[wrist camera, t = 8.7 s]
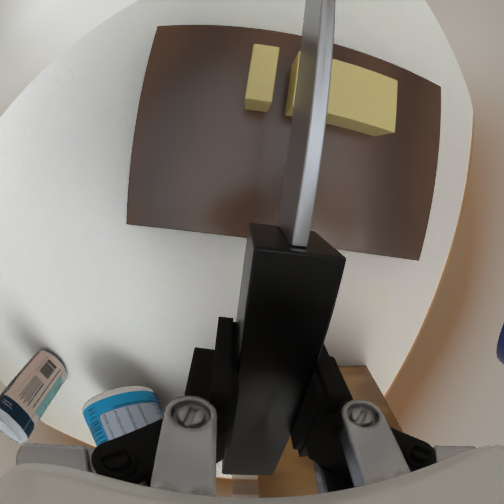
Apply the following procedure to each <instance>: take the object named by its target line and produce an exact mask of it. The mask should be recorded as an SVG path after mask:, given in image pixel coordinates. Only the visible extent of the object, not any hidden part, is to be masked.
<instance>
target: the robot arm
mask: <svg viewBox="0 0 504 504" xmlns="http://www.w3.org/2000/svg"><path fill="white" fill-rule="evenodd" d="M238 396H239V371H237V322H233V318H226V317H219V320H218V328H217V336H216V345H215V350H212V349H204V348H196V347H195V349H194V353H193V358H192V363H191V367H190V372H189V377H188V382H187V386H186V391H185V396H181V397H177V398H175V399H173V400H172V401H171V402H170V403H169V404H168V405H167V407H166V409H165V413H164V418H162V419H160V420H158V421H155V422H153V423H151V424H149V425H146V426H144V427H142V428H139V429H137V430H134V431H132V432H130V433H127V434H125V435H122V436H120V437H117V438H114V439H112V440H109V441H106V442H104V443H102V444H100V445H98V446H97V447H96V448H95V449H87V448H86V446H68V445H50V444H39V443H27V444H25V445H23V446H21V447H20V449H19V450H18V452H17V455H16V466H14V467H12V468H11V469H9V470H8V471H7V472H6V473H5V474H4V475H3V476H2V477H1V478H0V504H504V446H502V445H494V446H484V447H479V448H475V447H471V446H435V447H434V448H433V447H431V446H430V445H429V444H428V443H426V442H424V441H422V440H419V439H417V438H414V437H412V436H410V435H407V434H405V433H403V432H400V431H398V430H396V429H394V428H391V427H389V425H388V423H387V421H386V419H385V417H384V415H383V413H382V411H381V410H380V408H379V407H378V406H377V405H375V404H374V403H372V402H370V401H366V400H361V399H356V400H353V397H352V395H351V393H350V391H349V389H348V386H347V384H346V382H345V380H344V378H343V376H342V374H341V371H340V369H339V367H338V365H337V363H336V361H335V359H334V358H333V357H332V356H329V354H328V352H327V350H326V348H325V345H324V344H323V347H322V350H321V353H320V356H319V359H318V362H317V365H316V368H315V371H314V374H313V375H312V377H311V380H310V383H309V386H308V389H307V392H306V394H305V397H304V400H303V402H302V405H301V408H300V410H299V413H298V416H297V418H296V421H295V423H294V426H293V428H292V431H291V433H290V435H291V441H292V446H293V449H294V450H297V449H298V453H299V457H307V456H308V458H309V459H311V460H313V469H314V474H315V479H316V484H317V489H318V494H312V495H303V496H292V497H275V498H232V497H231V498H230V497H216V463H218V462H219V461H221V460H222V459H224V455H225V449H230V446H231V440H232V434H233V428H234V422H235V416H236V410H237V403H238Z"/></svg>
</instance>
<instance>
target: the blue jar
mask: <svg viewBox="0 0 504 504" xmlns="http://www.w3.org/2000/svg"><path fill="white" fill-rule="evenodd" d="M83 415H84V418H85V420H86V423H87V424H88V427H89V429H90V431H91V433H92V436H93V438H94V440H95V443H96V445H97V446H98V445H100V444H102V443H104V442H106V441H109V440H112V439H114V438H117V437H120V436H122V435H125V434H127V433H130V432H132V431H134V430H137V429H139V428H142V427H144V426H146V425H149V424H151V423H153V422H155V421H158V420H160V419H162V418H164V412H163V410H162V408H161V406H160V403H159V401H158V399H157V396H156V394H155V393H154V391H153V390H151V389H150V388H148V387H144V386H128V387H121V388H116V389H112V390H109V391H106V392H103V393H100V394H98V395H96V396H94V397H92V398H91V399H89V400H88V401H87V402H86V403H85V404H84V406H83Z"/></svg>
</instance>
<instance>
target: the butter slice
mask: <svg viewBox="0 0 504 504" xmlns="http://www.w3.org/2000/svg"><path fill="white" fill-rule="evenodd" d="M278 56H279V47H275V46H268V45H261V44H254V45H253V51H252V57H251V63H250V69H249V75H248V82H247V88H246V94H245V109H246V110H254V111H262V112H268V109H269V107H270V105H271V103H272V98H273V91H274V84H275V77H276V70H277V63H278Z"/></svg>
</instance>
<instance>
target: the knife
mask: <svg viewBox="0 0 504 504" xmlns="http://www.w3.org/2000/svg"><path fill="white" fill-rule="evenodd" d="M334 25H335V0H306V2H305V13H304V22H303V32H302V41H301V50H300V59H299V67H298V76H297V84H296V92H295V100H294V108H293V116H292V124H291V131H290V139H289V146H288V153H287V161H286V168H285V175H284V182H283V189H282V196H281V202H280V209H279V216H278V222H277V225H278V226H275V225H267V224H259V223H250V224H249V228H248V235H247V243H246V251H245V258H244V266H243V274H242V281H241V289H240V297H239V305H238V313H237V321H236V322H237V371H239V396H238V403H237V410H236V416H235V422H234V428H233V434H232V440H231V446H230V449H225V455H224V459H222V473H223V474H233V475H273V473H274V471H275V469H276V467H277V465H278V462H279V460H280V458H281V456H282V454H283V451H284V449H285V447H286V444H287V442H288V440H289V437H290V433H291V431H292V428H293V426H294V423H295V421H296V418H297V416H298V413H299V410H300V408H301V405H302V402H303V400H304V397H305V394H306V392H307V389H308V386H309V383H310V380H311V377H312V375H313V374H314V371H315V368H316V365H317V362H318V359H319V356H320V353H321V350H322V347H323V344H324V340H325V337H326V334H327V330H328V327H329V323H330V320H331V316H332V313H333V309H334V306H335V302H336V298H337V294H338V290H339V287H340V283H341V279H342V274H343V270H344V266H345V262H346V258H345V257H344V256H343V255H342V254H341V253H340V252H338V251H337V250H336V249H335V248H334V247H333V246H331V245H330V244H329V243H328V242H327V241H326V240H324V239H323V238H322V237H321V236H320V235H318V234H317V233H316V232H315V231H312V230H310V229H311V223H312V217H313V211H314V205H315V199H316V193H317V186H318V180H319V173H320V166H321V159H322V152H323V144H324V136H325V128H326V120H327V111H328V102H329V92H330V81H331V70H332V57H333V42H334Z"/></svg>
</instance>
